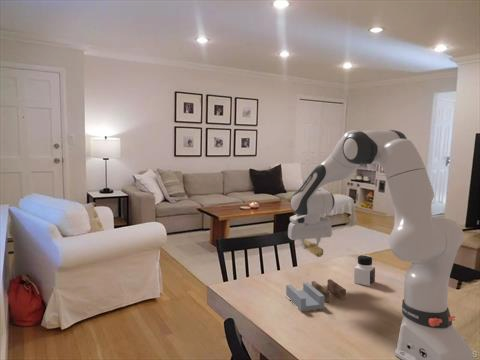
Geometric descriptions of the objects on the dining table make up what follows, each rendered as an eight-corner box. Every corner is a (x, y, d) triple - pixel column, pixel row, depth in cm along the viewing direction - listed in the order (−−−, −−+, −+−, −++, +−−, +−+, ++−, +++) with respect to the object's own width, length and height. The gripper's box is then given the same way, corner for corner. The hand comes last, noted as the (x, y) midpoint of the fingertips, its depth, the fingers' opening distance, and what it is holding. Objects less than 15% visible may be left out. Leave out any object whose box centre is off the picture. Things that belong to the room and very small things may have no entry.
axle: (323, 256, 149) (323, 247, 148) (314, 257, 148) (314, 248, 147) (308, 248, 162) (309, 239, 162) (301, 248, 161) (301, 240, 161)
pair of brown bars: (346, 299, 138) (346, 289, 138) (325, 302, 136) (325, 292, 136) (330, 288, 150) (330, 279, 149) (311, 290, 148) (311, 281, 147)
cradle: (324, 308, 130) (324, 295, 130) (300, 312, 128) (300, 298, 127) (307, 294, 144) (307, 282, 143) (286, 296, 141) (286, 284, 141)
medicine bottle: (370, 286, 151) (370, 259, 150) (353, 283, 156) (354, 256, 155) (375, 281, 157) (375, 255, 156) (359, 278, 161) (359, 253, 160)
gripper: (327, 215, 161) (327, 244, 162) (286, 217, 156) (286, 247, 157) (334, 217, 155) (334, 247, 156) (292, 220, 150) (292, 251, 151)
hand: (310, 247), depth 156 cm, fingers closed on axle, 4 cm apart
